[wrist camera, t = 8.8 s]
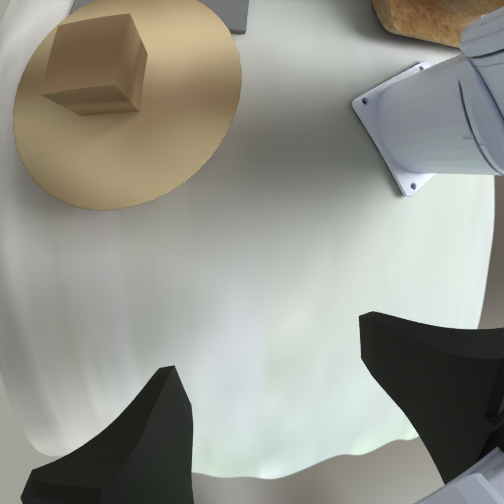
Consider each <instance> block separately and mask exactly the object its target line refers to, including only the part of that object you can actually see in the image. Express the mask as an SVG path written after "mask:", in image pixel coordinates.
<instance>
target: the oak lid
mask: <svg viewBox="0 0 504 504" xmlns="http://www.w3.org/2000/svg"><path fill="white" fill-rule="evenodd" d="M240 90H241V63H240V57H239V53H238V50H237V47H236V43H235V41H234V39H233V37H232V35H231V33H230V31H229V30H228V28H227V27H226V25H225V24H224V23H223V21H222V20H221V19H220V18H219V17H218V16H217V15H216V14H215V13H214V12H213V11H212V10H211V9H209V8H208V7H206V6H205V5H204V4H202V3H201V2H199V1H197V0H95V1H93V2H91V3H89V4H87V5H85V6H83V7H82V8H80V9H78V10H77V11H75V12H74V13H72V14H71V15H69V16H68V17H67V18H66V19H64V20H63V21H62V22H61V23H60V24H58V25H57V26H56V27H55V28H54V29H53V30H52V31H51V32H50V33H49V34H48V35H47V36H46V38H45V39H44V40H43V41H42V43H41V44H40V45H39V46H38V48H37V49H36V51H35V52H34V54H33V55H32V57H31V59H30V60H29V62H28V64H27V66H26V68H25V70H24V72H23V75H22V77H21V80H20V83H19V85H18V89H17V93H16V97H15V103H14V111H13V130H14V138H15V143H16V146H17V150H18V153H19V156H20V158H21V160H22V163H23V165H24V167H25V168H26V170H27V171H28V173H29V175H30V176H31V177H32V178H33V180H34V181H35V182H36V183H37V184H38V185H39V186H40V187H41V188H42V189H43V190H45V191H46V192H47V193H48V194H49V195H51V196H53V197H55V198H56V199H58V200H60V201H62V202H64V203H67V204H69V205H72V206H75V207H79V208H84V209H90V210H115V209H122V208H127V207H132V206H136V205H140V204H143V203H145V202H148V201H151V200H154V199H156V198H158V197H160V196H162V195H164V194H167V193H169V192H170V191H172V190H173V189H175V188H176V187H178V186H180V185H181V184H183V183H184V182H185V181H186V180H188V179H189V178H190V177H191V176H193V175H194V174H195V173H196V172H197V171H198V170H199V169H200V168H201V167H202V166H203V165H204V164H205V163H206V162H207V161H208V160H209V159H210V157H211V156H212V155H213V153H214V152H215V151H216V149H217V148H218V147H219V145H220V143H221V142H222V140H223V138H224V137H225V135H226V133H227V131H228V129H229V127H230V124H231V122H232V120H233V117H234V115H235V112H236V108H237V105H238V101H239V97H240Z"/></svg>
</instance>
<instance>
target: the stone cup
mask: <svg viewBox="0 0 504 504" xmlns="http://www.w3.org/2000/svg"><path fill="white" fill-rule="evenodd" d="M372 3H373V7H374V10H375V12H376V13H377V17H378V19H379V20H380V22H381V23H382V25H383V27H384V28H385V29H386V30H387V31H389V32H391V33H394V34H398V35H402V36H407V37H412V38H415V39H420V40H425V41H430V42H435V43H440V44H443V45H447V46H452V47H456V48H459V42H460V41H461V32H462V30H463V29H464V28H466V27H467V26H468V25H470V24H471V23H473V22H474V21H476V20H478V19H480V17H481V16H482V15H485V14H488V13H491V12H493V11H495V10H497V9H499V8H501V7H504V0H372Z"/></svg>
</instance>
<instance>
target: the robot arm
mask: <svg viewBox="0 0 504 504" xmlns="http://www.w3.org/2000/svg"><path fill="white" fill-rule="evenodd" d="M459 48H460V49H461V51H462V52H463V54H461V55H459V56H456V57H454V58H451V59H449V60H446V61H444V62H441V63H439V64H436V65H434V66H432V65H431V64H430V63H429V62H428V61H423V62H421V63H419V64H417V65H415V66H413V67H411V68H409V69H407V70H405V71H403V72H402V73H400V74H398V75H396V76H394V77H392V78H391V79H389V80H387V81H385V82H383V83H382V84H380V85H378V86H376V87H374V88H373V89H371V90H369V91H367V92H366V93H364V94H362V95H361V96H359V97H357V98H355V99H354V100H353V101H352V107H353V109H354V110H355V112H356V113H357V115H358V117H359V118H360V120H361V121H362V123H363V124H364V126H365V128H366V129H367V131H368V133H369V134H370V136H371V138H372V139H373V141H374V143H375V144H376V146H377V148H378V149H379V151H380V153H381V155H382V156H383V158H384V160H385V162H386V164H387V165H388V167H389V169H390V171H391V173H392V175H393V177H394V179H395V180H396V182H397V184H398V186H399V188H400V190H401V192H402V194H403V195H404V196H407V197H410V196H412V195H413V194H414V193H415V192H416V191H418V190H419V189H420V188H421V187H422V186H423V185H425V184H426V183H427V182H428V181H429V180H430V179H431V178H433V177H434V176H435V175H436V174H482V175H503V176H504V7H501V8H499V9H497V10H495V11H493V12H491V13H489V14H487V15H485V16H483V17H481V18H480V19H478V20H476V21H474V22H473V23H471V24H470V25H468V26H467V27H466V28H464V29H463V30H462V32H461V41H460V42H459ZM419 68H420V69H421V71H420V69H419ZM362 99H364V100H365V102H366V105H365V104H363V102H362ZM411 184H412V185H413V188H412V189H411ZM359 327H360V344H361V359H362V360H363V362H364V364H365V365H366V367H367V369H368V370H369V372H370V373H371V375H372V376H373V378H374V379H375V380H376V381H377V382H378V383H379V385H380V386H381V387H382V388H383V389H384V390H385V392H386V393H387V394H388V395H389V396H390V397H391V398H392V399H393V401H394V402H395V403H396V404H397V405H398V406H399V407H400V409H401V410H402V411H403V412H404V414H405V415H406V416H407V418H408V419H409V421H410V422H411V424H412V425H413V427H414V428H415V430H416V431H417V433H418V434H419V436H420V438H421V439H422V441H423V443H424V445H425V446H426V448H427V450H428V452H429V453H430V455H431V457H432V459H433V461H434V463H435V465H436V467H437V469H438V471H439V473H440V475H441V477H442V480H443V482H444V484H445V485H444V486H443V487H441V488H440V489H438V490H436V491H435V492H433V493H431V494H430V495H428V496H426V497H424V498H423V499H421V500H419V501H417V502H415V503H414V504H504V328H497V329H480V330H479V329H455V328H445V327H438V326H433V325H428V324H423V323H418V322H414V321H410V320H406V319H402V318H399V317H395V316H391V315H387V314H383V313H379V312H373V311H372V312H369V313H366V314H363V315H360V316H359ZM192 446H193V417H192V407H191V403H190V401H189V399H188V396H187V394H186V392H185V390H184V387H183V385H182V382H181V380H180V378H179V375H178V373H177V370H176V368H175V365H173V366H168V367H163V368H159V369H158V370H157V371H156V372H155V374H154V375H153V376H152V377H151V379H150V380H149V381H148V383H147V384H146V385H145V386H144V388H143V389H142V390H141V391H140V393H139V394H138V395H137V396H136V398H135V399H134V400H133V401H132V402H131V403H130V404H129V405H128V407H127V408H126V409H125V410H124V411H123V412H122V413H121V414H120V415H119V416H118V417H117V418H116V419H115V420H114V421H113V422H112V423H111V424H110V425H109V426H108V427H107V428H105V429H104V430H103V431H102V432H101V433H99V434H98V435H97V436H95V437H94V438H93V439H91V440H90V441H88V442H87V443H86V444H84V445H83V446H81V447H80V448H78V449H76V450H75V451H73V452H71V453H70V454H68V455H66V456H64V457H62V458H60V459H58V460H56V461H54V462H51V463H49V464H46V465H44V466H41V467H39V468H37V469H34V470H32V471H31V474H30V476H29V478H28V481H27V483H26V485H25V488H24V490H23V493H22V495H21V501H22V503H23V504H194V500H193V491H192V480H191V468H192Z"/></svg>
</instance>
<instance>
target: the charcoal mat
mask: <svg viewBox="0 0 504 504" xmlns="http://www.w3.org/2000/svg"><path fill="white" fill-rule="evenodd" d="M93 1H95V0H75V2H74V5H73V8H72V10H71V13H70V15H71V14H72V13H74V12H75V11H77V10H78V9H80V8H82V7H83V6H85V5H87V4H89V3H91V2H93ZM197 1H199V2H201V3H202V4H204V5H205V6H206V7H208V8H209V9H211V10H212V11H213V12H214V13H215V14H216V15H217V16H218V17H219V18H220V19H221V20H222V21H223V23H224V24H225V25H226V27H227V28H228V30H229V31H230V32H232V33H244V34H245V32H246V25H247V14H248V3H249V0H197Z"/></svg>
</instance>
